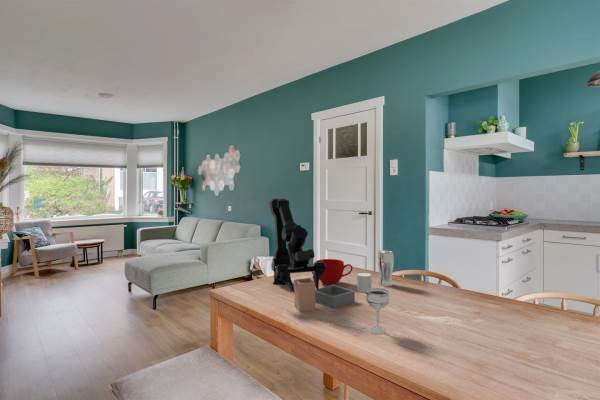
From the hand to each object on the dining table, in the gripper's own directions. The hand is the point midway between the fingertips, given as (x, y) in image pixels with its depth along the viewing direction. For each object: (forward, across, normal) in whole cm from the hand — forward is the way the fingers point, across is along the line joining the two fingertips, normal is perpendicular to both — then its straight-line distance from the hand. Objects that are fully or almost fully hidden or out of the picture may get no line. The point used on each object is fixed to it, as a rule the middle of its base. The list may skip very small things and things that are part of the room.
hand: (305, 290), depth 119 cm
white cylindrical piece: (-4, +30, +14) cm, 34 cm away
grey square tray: (+1, +13, +8) cm, 15 cm away
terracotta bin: (+4, 0, +6) cm, 7 cm away
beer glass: (-8, +44, +18) cm, 48 cm away
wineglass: (+22, +15, -12) cm, 29 cm away
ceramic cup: (-14, +23, +24) cm, 36 cm away
